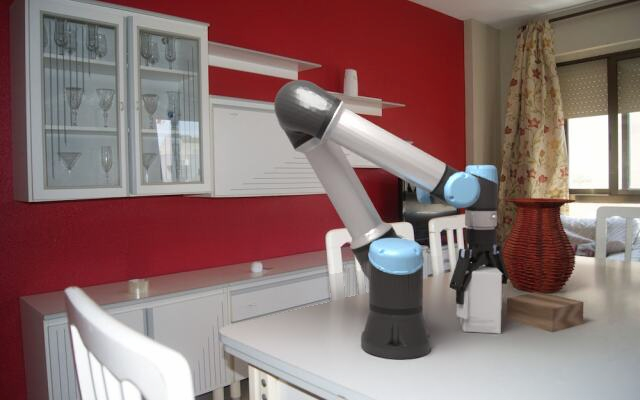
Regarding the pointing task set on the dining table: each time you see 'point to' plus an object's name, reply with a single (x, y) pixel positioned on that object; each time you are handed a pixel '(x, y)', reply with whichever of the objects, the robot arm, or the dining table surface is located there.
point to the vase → (538, 246)
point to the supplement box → (484, 301)
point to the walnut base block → (545, 311)
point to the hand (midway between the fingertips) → (479, 312)
